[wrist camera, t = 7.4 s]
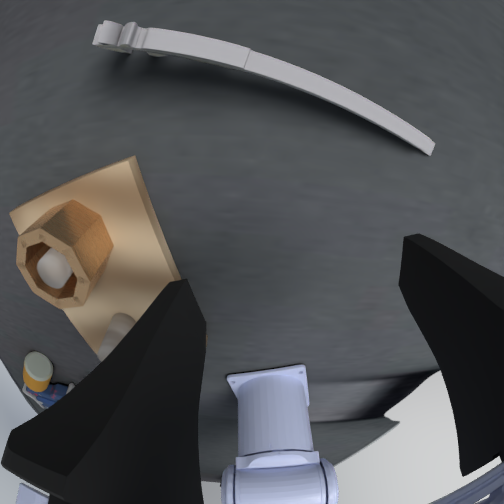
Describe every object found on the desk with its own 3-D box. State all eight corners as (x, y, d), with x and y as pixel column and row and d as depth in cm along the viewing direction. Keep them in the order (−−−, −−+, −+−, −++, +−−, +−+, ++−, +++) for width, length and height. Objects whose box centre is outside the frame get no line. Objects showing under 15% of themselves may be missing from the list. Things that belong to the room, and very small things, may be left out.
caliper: (125, 54, 12) (69, 45, 7) (130, 38, 12) (76, 21, 6) (426, 154, 16) (485, 187, 11) (432, 141, 15) (492, 170, 10)
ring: (123, 265, 18) (102, 303, 15) (68, 276, 19) (45, 310, 15) (91, 192, 15) (58, 220, 12) (36, 214, 16) (5, 242, 12)
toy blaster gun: (1, 334, 26) (41, 390, 34) (-11, 356, 22) (34, 409, 30) (125, 366, 28) (148, 417, 36) (117, 397, 24) (145, 440, 33)
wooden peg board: (207, 336, 24) (202, 386, 19) (99, 345, 25) (84, 385, 21) (135, 155, 15) (96, 182, 11) (17, 206, 17) (-22, 238, 12)
